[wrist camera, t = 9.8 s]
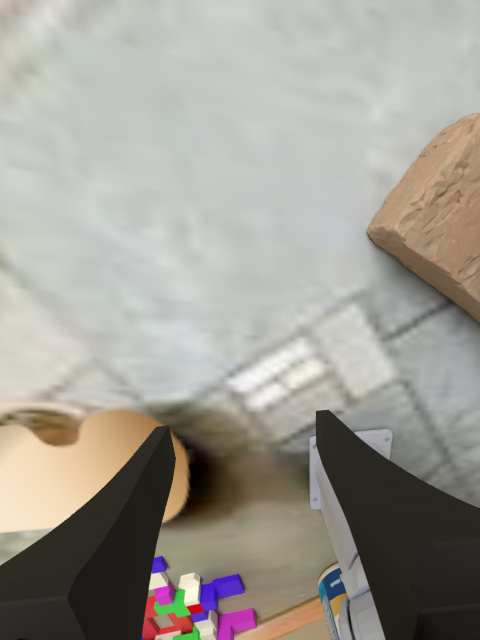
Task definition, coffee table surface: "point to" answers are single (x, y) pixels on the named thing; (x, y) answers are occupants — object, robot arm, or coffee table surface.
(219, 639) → the building block set
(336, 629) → the beverage bottle
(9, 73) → the coffee table surface
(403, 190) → the brick
